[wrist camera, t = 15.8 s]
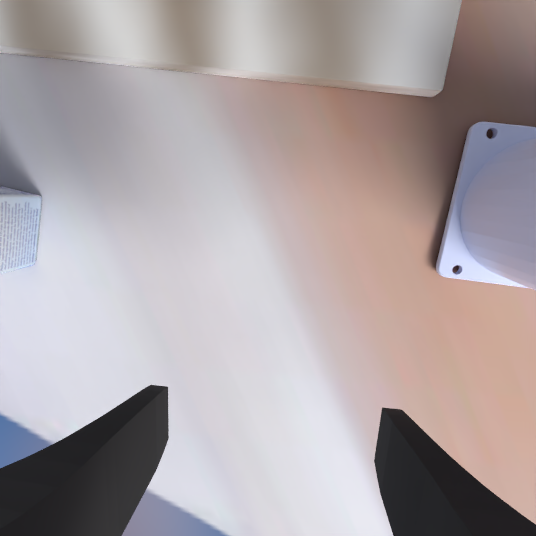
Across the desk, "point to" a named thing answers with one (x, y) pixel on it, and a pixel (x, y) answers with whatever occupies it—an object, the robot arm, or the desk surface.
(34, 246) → the medicine box
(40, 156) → the desk surface
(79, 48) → the board
